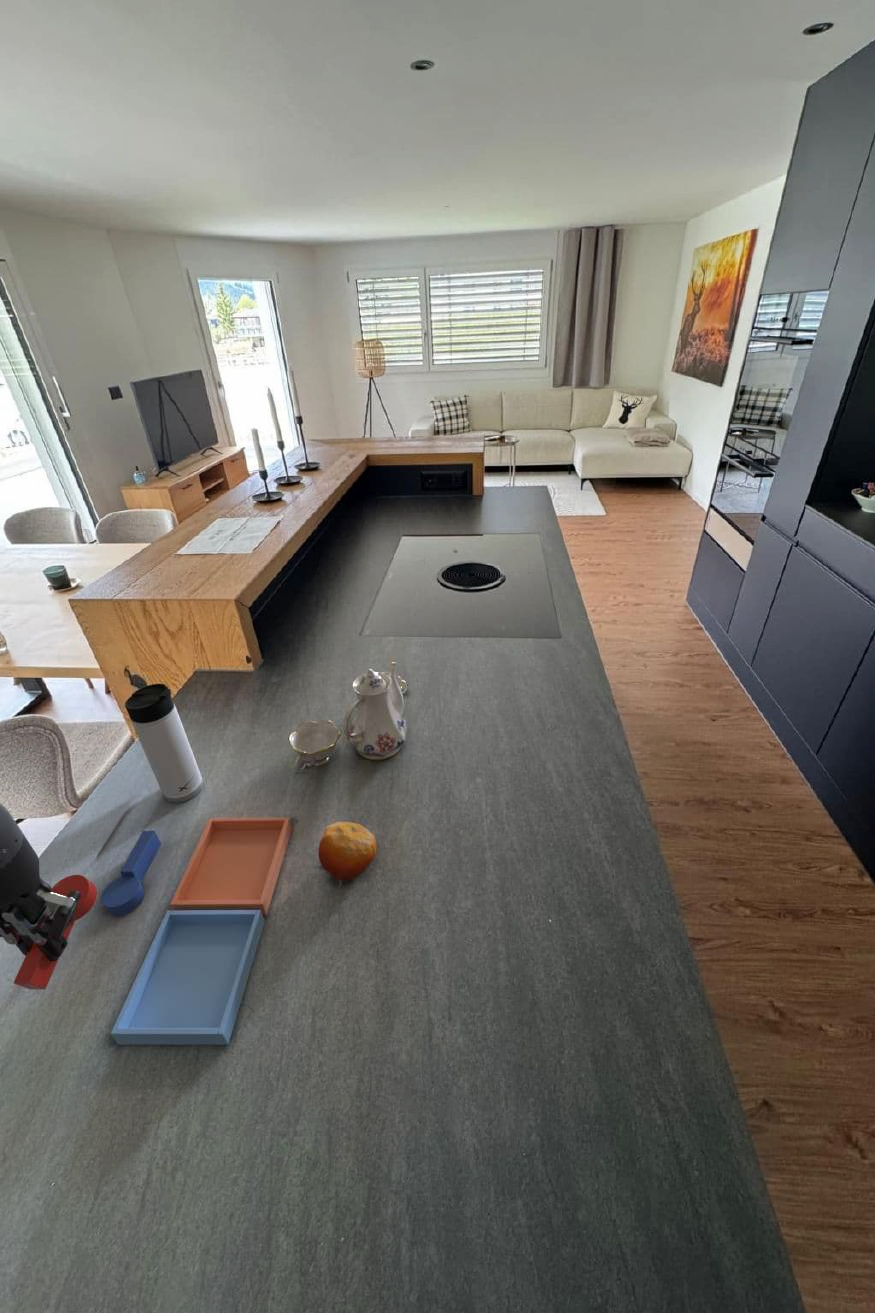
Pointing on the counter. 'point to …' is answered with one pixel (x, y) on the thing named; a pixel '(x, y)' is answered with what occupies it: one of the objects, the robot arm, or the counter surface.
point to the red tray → (234, 865)
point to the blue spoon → (131, 877)
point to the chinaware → (359, 722)
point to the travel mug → (164, 742)
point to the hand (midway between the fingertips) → (48, 952)
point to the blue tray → (191, 979)
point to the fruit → (346, 850)
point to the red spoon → (36, 963)
